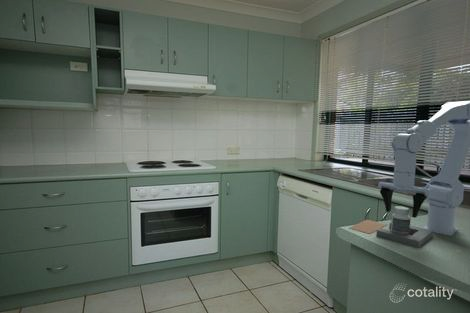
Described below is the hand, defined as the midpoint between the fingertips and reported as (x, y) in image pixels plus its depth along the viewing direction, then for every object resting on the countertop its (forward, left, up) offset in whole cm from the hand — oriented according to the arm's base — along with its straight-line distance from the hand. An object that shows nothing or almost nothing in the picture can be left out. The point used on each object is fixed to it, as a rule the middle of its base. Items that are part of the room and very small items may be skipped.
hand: (401, 214), depth 91 cm
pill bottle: (0, 0, -7) cm, 7 cm away
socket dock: (0, 0, -7) cm, 7 cm away
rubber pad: (0, -10, -7) cm, 12 cm away
